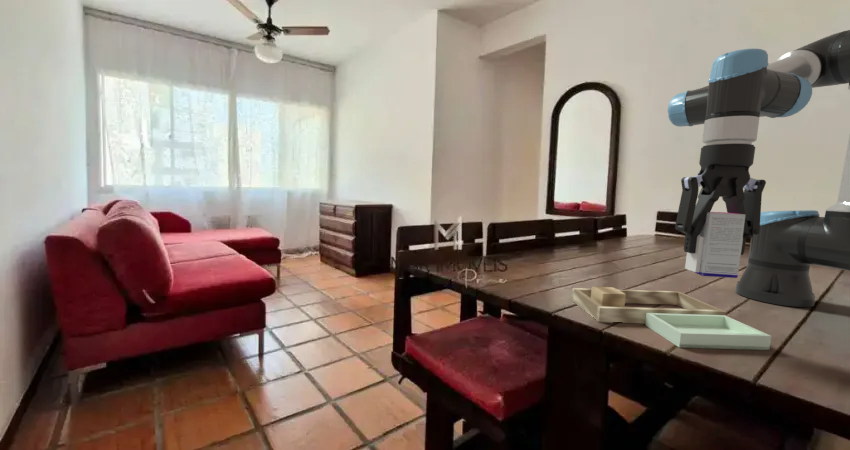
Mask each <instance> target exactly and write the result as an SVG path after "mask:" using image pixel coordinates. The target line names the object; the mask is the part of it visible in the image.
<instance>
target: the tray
mask: <svg viewBox="0 0 850 450" xmlns="http://www.w3.org/2000/svg"><path fill="white" fill-rule="evenodd" d="M644 324H645V325H644V326H645V327H647V328H649V329H650V330H651V331H652V332H655V333H656V334H658V335H660V336H661V337H662V338H664V339H665V340H666V341H668V342H670V343H672V344H673V345H675V346H676V347H678V348H685V349H687V348H688V349H719V350H720V349H723V350H753V351H754V350H756V351H757V350H759V351H770V349H771V348H770V347H771V343H772V342H771V341H772V335H770V334H769V333H766V332H763V331H762V330H760V329H757V328H754V327H753V326H750V325H748V324H745V323H743V322H741V321H738V320H736V319H734V318H732V317H731V316H730V317H729V316H727V314H726V315H698V314H666V313H646V322H645V323H644Z"/></svg>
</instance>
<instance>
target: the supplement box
mask: <svg viewBox="0 0 850 450" xmlns="http://www.w3.org/2000/svg"><path fill="white" fill-rule="evenodd" d="M744 223H745V214H736V213H727V211H726V212H723V211H710V212H708V213H707V217H706V222H705V224H704V226H703V228H702V230H701V233H700V234H699V236H702V237H704V242H703V249H702V257H701V265H700V272H693V271H691V272H693V273H694V274H697V275H700V276H702V277H708V278H709V277H711V278H725V279H726V278H728V279H729V278H730V279H737V278H738V276H739V271H740V270H739V269H740V264H739V262H741V256H740V254H741V246H742V238H743V230H744ZM738 270H739V271H738Z"/></svg>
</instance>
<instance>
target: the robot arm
mask: <svg viewBox="0 0 850 450" xmlns="http://www.w3.org/2000/svg"><path fill="white" fill-rule="evenodd" d="M707 82H708V85H707V86H703V87H700V88H696V89H692V90H691V89H690V90H686V91H685V92H680V93H677V94H676V95H674V96H673V97H672V98H671V99H670V100H669V103H668V106H667V114H668V115H667V117H668V120H669V122H671V124H672V125H674V126H676V127H681V128H682V127H693V126H699V125H703V133H702V139H701V142H702V143H703V144H705V145H703V146H702V147H701V148H700V155H699V162H698V163H699V166H700V170H699V172H698V173H697V175H694V176H685V177H684V176H683V177H682V178H681V179H680V181H681V189H682V191H681V196H680V201H679V204H678V206H679V207H678V211H677V214H676V215H677V217H676V221H675V223H674V224H675V225H674V228H675V230H676V231H678V232H681V233H682V235H683V234H684V235H685V238H684V245H683V250H684V252H685V253H686V256H685V257H686V258H685V265H684V270H688V271H690V272H692V271H693V273H694V272H700V265H701V257H702V249H703V242H704V237H702V236H699V234H700V233H701V230H702V228H703V226H704V224H705V222H706V217H707V213H708V212H712V209H713V207H714V204H715V203H716V202H717V201H719V199H720V197H721V198H722V201H723V202H724V204H725V207H726V213H736V214H745V223H744V230H743V238H742V246H741V254H740V257H742V256H743V255H744V253H745V249H746V243H747V239H748V240H749V239H750V245H749V251H748V258H747V259H748V260H747V265H746V268H745V269H744V271H743V272H742V275H741V276H740V279H739V281H737V282H736V285H735V293H737V294H738V295H740V296H741V297H745V298H748V299H752V300H755V301H758V302H759V301H760V302H763V303H768V304H773V305H779V306H786V307H794V308H795V307H796V308H810V307H814V306H815V302H816V294H815V293H813V286H812V282H811V278H810V268H811V265H813V266H819V267H825V268H830V269H831V268H832V269H836V270H842V271H848V272H850V134H849V137H848V142H847V146H846V151H845V152H846V153H845V158H844V164H843V170H842V174H841V180H840V185H839V190H838V191H839V192H838V195H837V201H836V202H835V204H833V205H831V206H830V207H828V208H826V209H825V213H824V216H820V213H819V211H817V210H812V209H809V210H807V209H806V210H804V209H803V210H774V211H773V210H771V211H767V210H766V211H762V200H763V199H762V196H763V192H764V189H765V186H766V184H767V181H766V180H765V179H756V178H752V177H751V173H750V170H749V169H750V167H751V166H753V164H754V160H755V154H756V153H755V152H756V146H755V145H754V144H752V143H754V142H756V141H757V139H758V131H759V125H760V117H767V118H771V119H775V118H787V117H791V116H794V115H795V114H797V113H799V112H800V111H802V110H803V109H804V108H805V107H806V106H807V105H808V104H809V102H810V100H811V99H812V95H813V89H814V88H821V87H822V88H823V87H830V86H838V85H839V86H840V85H846V84H848V87H847V89H848V90H849V91H850V29H848V30H843V31H841V32H840V31H839V32H837V33H833V34H830V35H828V36H825V37H823V38H820V39H817V40H816V41H813V42H811V43H808V44H806V45H803V46H801V47H799V48H797V49H794V50H791V51H788V52H787V53H785V54H783V55H781V56H780V57H778V58H777V59H776V60H775V61H773V62H771V63H769V54H768V52H767V50H764V49H763V48H744V49H737V50H733V51H729V52H726V53H723V54H721V55H719V56H717V57H716V58H715V59H714V61H713V62H712V66H711V70H710V76H709V79H708V81H707ZM700 187H701V188H700ZM699 188H700V191H699ZM740 262H741V261H740ZM740 262H739V265H740ZM739 271H740V270H738V272H739Z"/></svg>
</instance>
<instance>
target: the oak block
mask: <svg viewBox="0 0 850 450" xmlns="http://www.w3.org/2000/svg"><path fill="white" fill-rule="evenodd" d="M590 289H591V299H593V300H594V301H595V302H597V303H598V304H600V305H601V306H604V307H626V305H625V304H626V303H625V297H626V294H625V293H623V292H621V291H619V290H620V289H617V288H616V287H612V286H611V287H610V286H591V288H590Z"/></svg>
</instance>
